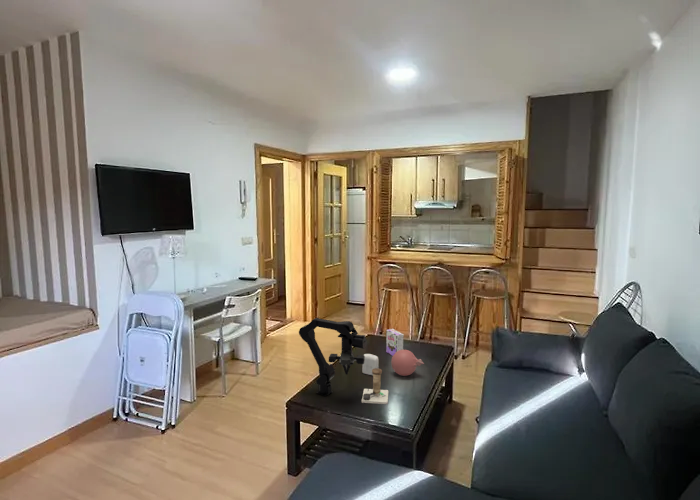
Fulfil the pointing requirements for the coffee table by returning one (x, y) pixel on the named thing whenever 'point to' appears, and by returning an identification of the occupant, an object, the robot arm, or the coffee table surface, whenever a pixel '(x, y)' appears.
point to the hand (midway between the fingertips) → (346, 374)
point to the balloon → (405, 362)
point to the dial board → (376, 397)
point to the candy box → (393, 341)
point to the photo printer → (370, 364)
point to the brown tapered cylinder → (375, 383)
